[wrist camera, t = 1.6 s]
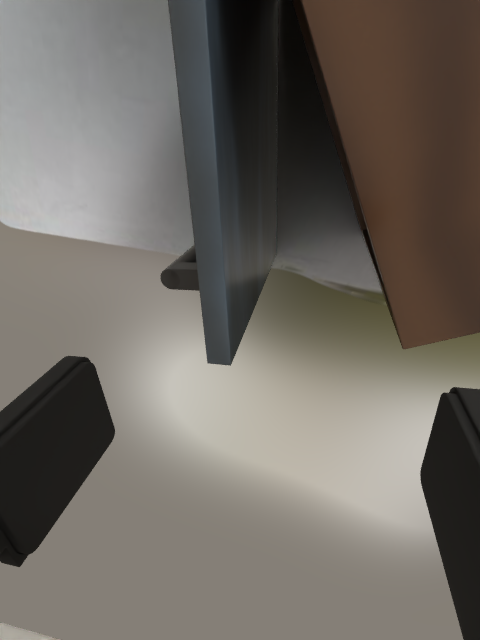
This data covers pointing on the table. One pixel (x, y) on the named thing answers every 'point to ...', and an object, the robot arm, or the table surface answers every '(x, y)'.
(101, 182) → the table surface
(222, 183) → the door
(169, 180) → the table surface
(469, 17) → the cupboard
